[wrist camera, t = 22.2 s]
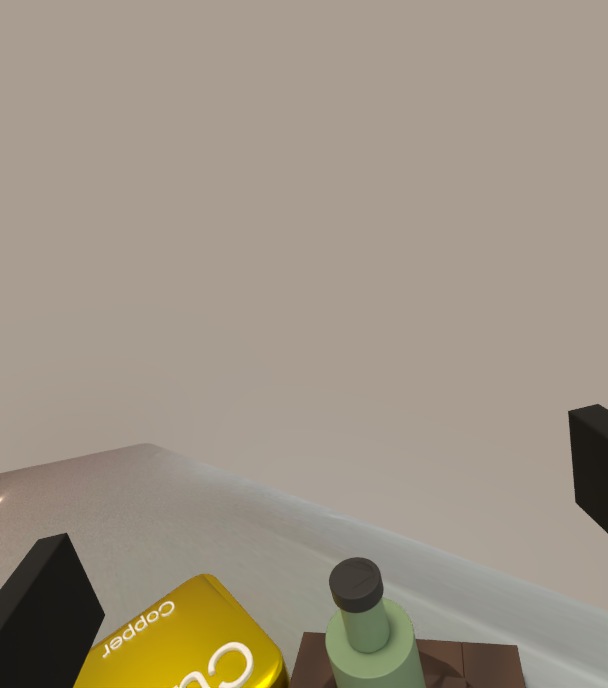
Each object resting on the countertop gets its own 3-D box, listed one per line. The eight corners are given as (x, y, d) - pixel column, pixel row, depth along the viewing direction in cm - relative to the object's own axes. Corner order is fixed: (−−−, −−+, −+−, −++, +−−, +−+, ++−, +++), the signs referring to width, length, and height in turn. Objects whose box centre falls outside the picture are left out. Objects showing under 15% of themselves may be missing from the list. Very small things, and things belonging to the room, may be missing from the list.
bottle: (444, 737, 30) (403, 542, 25) (447, 836, 25) (398, 620, 21) (370, 727, 31) (320, 542, 27) (360, 819, 27) (298, 615, 22)
